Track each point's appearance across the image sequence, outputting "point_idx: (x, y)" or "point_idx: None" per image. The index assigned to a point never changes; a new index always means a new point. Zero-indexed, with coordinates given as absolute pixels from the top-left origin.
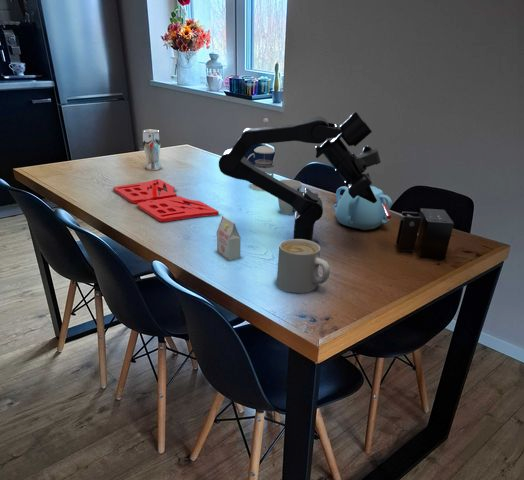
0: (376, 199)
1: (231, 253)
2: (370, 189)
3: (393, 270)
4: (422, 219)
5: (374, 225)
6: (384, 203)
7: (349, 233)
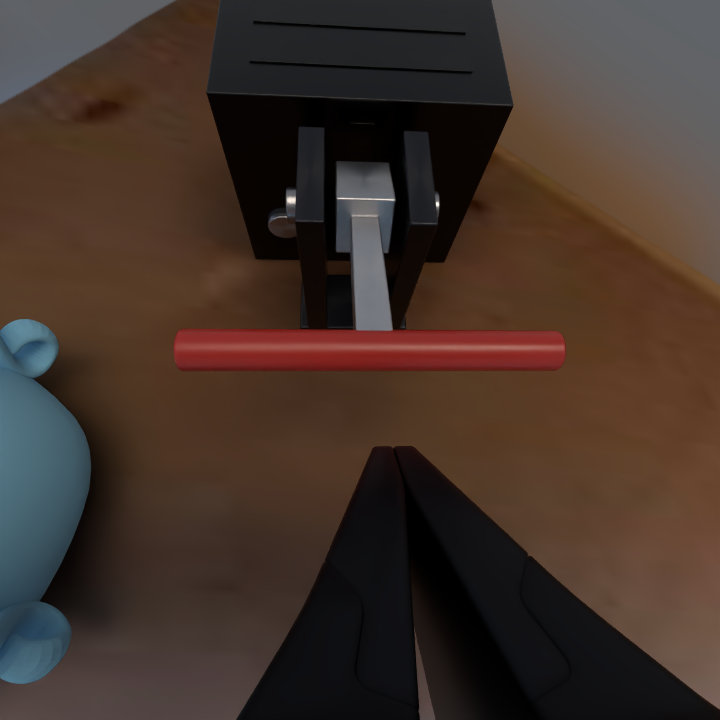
0: (393, 451)
1: None
2: (596, 624)
3: (611, 390)
4: (358, 132)
5: (83, 432)
6: (189, 343)
7: (112, 606)
